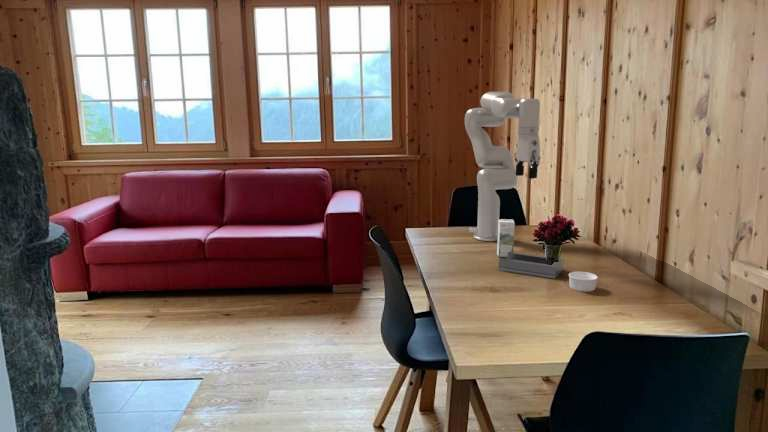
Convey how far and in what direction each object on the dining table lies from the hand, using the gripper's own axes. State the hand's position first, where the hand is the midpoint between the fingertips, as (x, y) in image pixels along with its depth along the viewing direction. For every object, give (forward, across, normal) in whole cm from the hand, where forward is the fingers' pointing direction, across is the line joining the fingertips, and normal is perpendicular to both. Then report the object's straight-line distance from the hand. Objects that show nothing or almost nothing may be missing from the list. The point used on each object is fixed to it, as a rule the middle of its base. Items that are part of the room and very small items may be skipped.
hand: (525, 176), depth 209 cm
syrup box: (+32, +2, +6) cm, 32 cm away
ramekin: (+32, -39, 0) cm, 51 cm away
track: (+32, -17, +6) cm, 37 cm away
